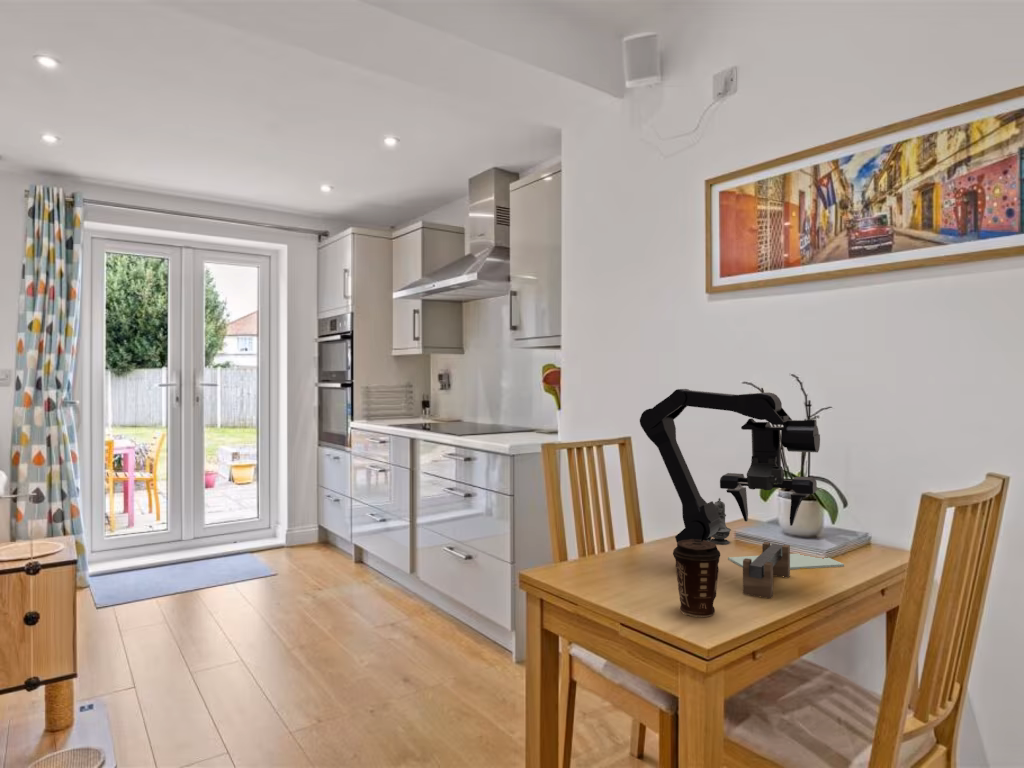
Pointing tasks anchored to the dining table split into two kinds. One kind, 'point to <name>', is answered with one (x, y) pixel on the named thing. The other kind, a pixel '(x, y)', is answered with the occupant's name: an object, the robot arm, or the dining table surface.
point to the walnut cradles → (766, 574)
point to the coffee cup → (697, 576)
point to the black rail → (765, 560)
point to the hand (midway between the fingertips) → (768, 523)
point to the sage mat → (797, 561)
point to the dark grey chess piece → (721, 525)
